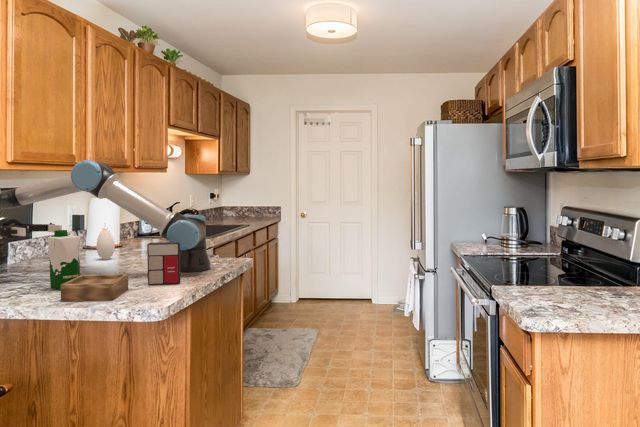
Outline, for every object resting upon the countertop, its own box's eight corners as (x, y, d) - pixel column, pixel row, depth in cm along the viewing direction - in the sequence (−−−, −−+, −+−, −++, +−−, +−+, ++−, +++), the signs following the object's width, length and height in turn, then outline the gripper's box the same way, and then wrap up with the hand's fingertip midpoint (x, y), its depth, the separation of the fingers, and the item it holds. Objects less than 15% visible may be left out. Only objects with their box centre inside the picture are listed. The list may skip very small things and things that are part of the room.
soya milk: (71, 283, 169) (69, 229, 168) (85, 286, 164) (83, 230, 163) (46, 288, 162) (44, 231, 161) (59, 291, 157) (57, 232, 156)
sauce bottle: (93, 260, 223) (92, 222, 222) (107, 257, 230) (106, 221, 229) (104, 261, 219) (103, 223, 218) (118, 259, 226) (117, 222, 225)
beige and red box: (147, 285, 166) (146, 244, 165) (149, 283, 170) (148, 242, 169) (179, 284, 168) (178, 243, 167) (180, 282, 172) (180, 241, 172)
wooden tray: (128, 289, 160) (128, 274, 160) (113, 300, 145) (112, 283, 144) (81, 290, 158) (80, 275, 158) (60, 301, 143) (60, 284, 143)
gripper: (37, 234, 186) (74, 237, 177) (-31, 241, 163) (8, 244, 154) (37, 216, 185) (74, 218, 177) (-32, 219, 163) (7, 222, 154)
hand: (43, 230), depth 166 cm, fingers open, 13 cm apart
